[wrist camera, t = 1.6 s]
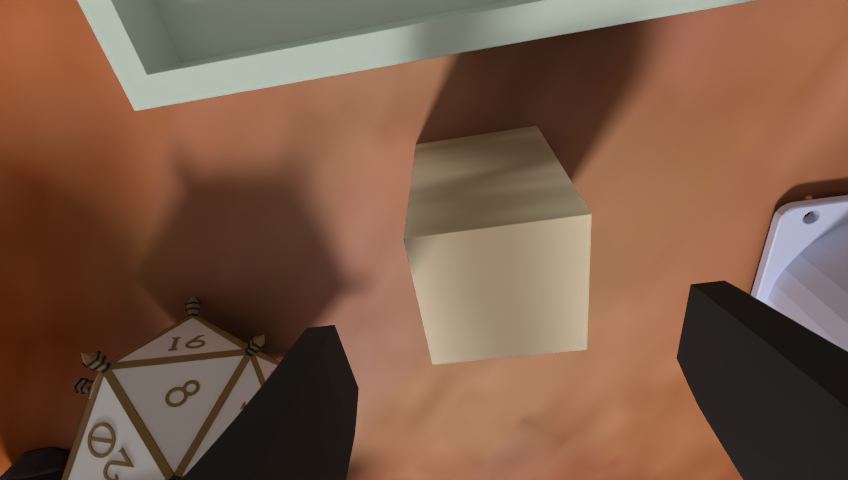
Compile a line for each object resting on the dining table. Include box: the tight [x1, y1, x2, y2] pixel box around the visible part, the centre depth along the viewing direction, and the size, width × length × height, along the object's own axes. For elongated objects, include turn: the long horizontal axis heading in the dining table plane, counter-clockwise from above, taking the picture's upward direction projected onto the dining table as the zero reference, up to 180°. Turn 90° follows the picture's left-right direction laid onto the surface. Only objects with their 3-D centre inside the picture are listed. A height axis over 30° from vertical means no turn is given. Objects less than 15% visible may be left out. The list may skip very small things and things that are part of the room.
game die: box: [61, 295, 280, 480], centre depth 17 cm, size 9×8×10 cm
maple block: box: [404, 125, 592, 365], centre depth 13 cm, size 4×4×6 cm
